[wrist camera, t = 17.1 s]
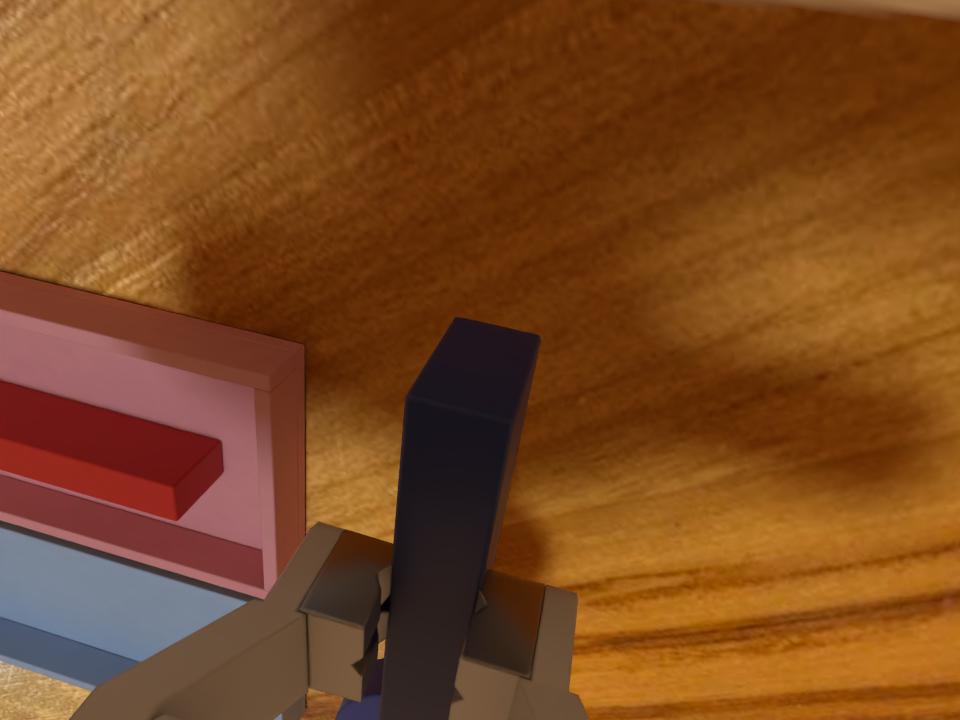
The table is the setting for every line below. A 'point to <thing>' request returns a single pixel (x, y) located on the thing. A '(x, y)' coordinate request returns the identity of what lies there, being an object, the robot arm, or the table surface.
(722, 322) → the table surface
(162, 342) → the pink tray
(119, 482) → the red spoon
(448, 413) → the blue spoon
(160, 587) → the blue tray
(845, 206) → the table surface
